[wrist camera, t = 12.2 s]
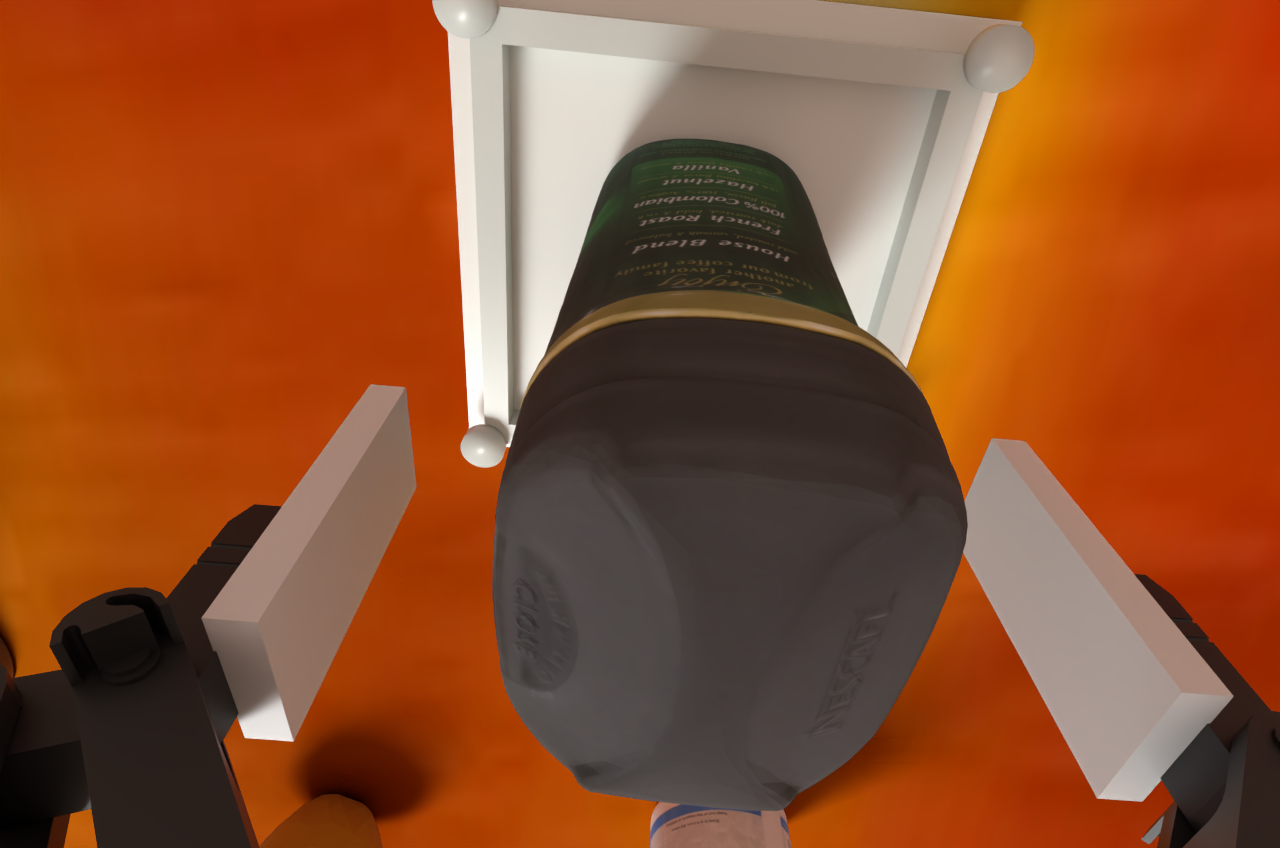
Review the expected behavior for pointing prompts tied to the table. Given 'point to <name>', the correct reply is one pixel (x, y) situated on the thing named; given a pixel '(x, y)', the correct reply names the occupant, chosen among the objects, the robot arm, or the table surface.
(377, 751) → the table surface
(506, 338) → the white square tray
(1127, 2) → the table surface
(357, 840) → the apple
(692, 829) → the supplement tub
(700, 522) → the coffee jar
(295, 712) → the robot arm
